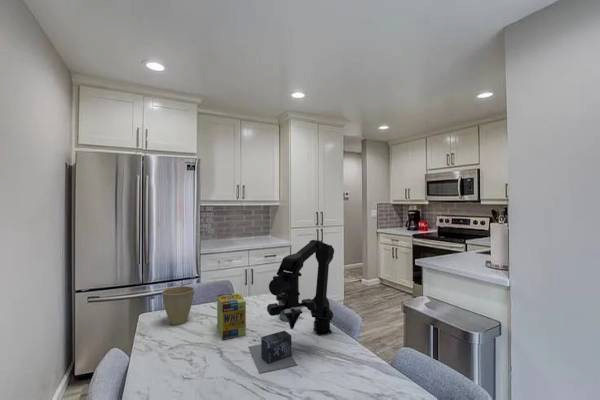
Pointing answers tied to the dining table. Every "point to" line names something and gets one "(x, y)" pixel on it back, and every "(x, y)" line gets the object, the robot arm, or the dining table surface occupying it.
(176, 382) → the dining table surface
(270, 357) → the box
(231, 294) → the protein box
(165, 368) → the dining table surface
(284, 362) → the mat
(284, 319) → the drinking glass
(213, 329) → the dining table surface
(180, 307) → the plant pot
